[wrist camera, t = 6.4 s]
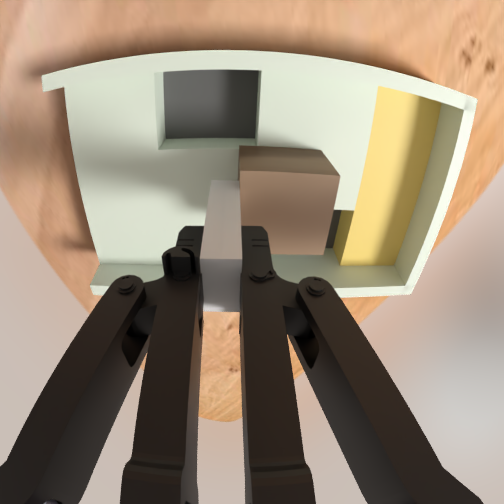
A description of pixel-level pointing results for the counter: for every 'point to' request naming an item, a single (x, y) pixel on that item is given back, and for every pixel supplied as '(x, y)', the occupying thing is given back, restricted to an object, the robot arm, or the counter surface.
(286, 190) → the block
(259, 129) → the box
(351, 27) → the counter surface
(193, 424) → the robot arm
